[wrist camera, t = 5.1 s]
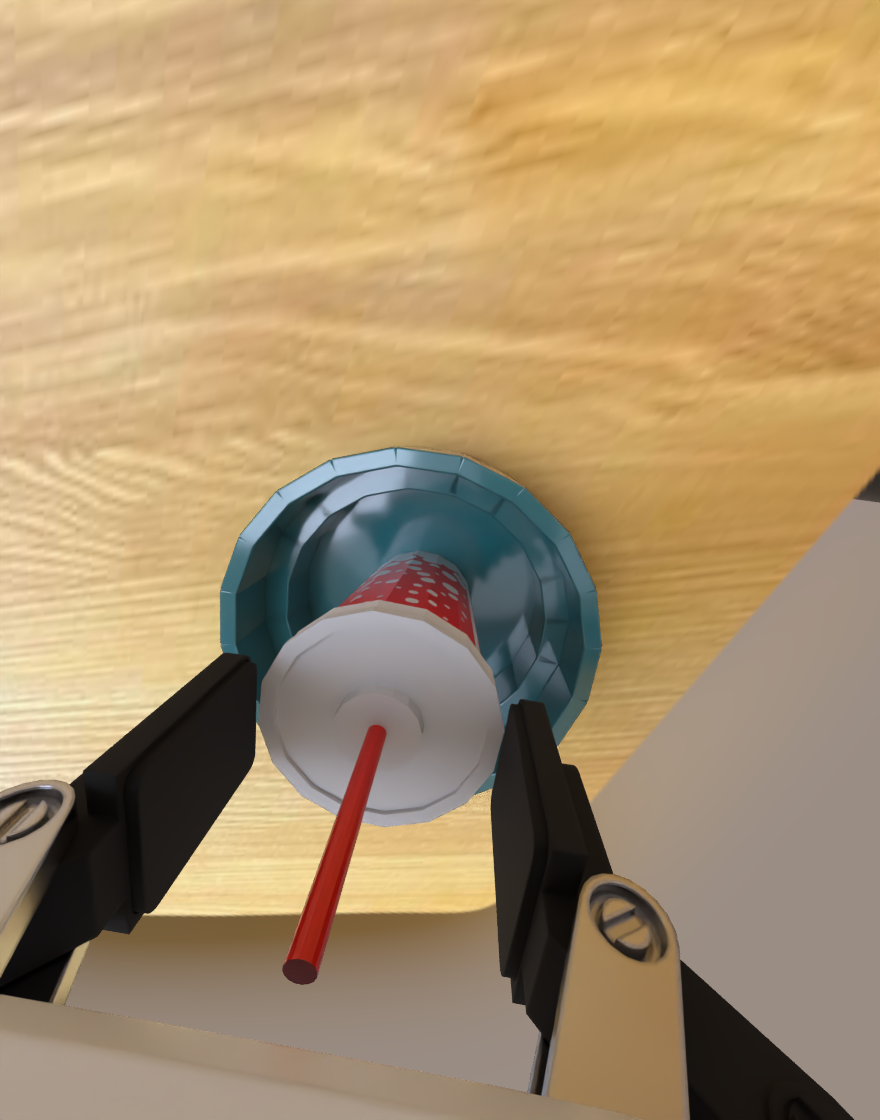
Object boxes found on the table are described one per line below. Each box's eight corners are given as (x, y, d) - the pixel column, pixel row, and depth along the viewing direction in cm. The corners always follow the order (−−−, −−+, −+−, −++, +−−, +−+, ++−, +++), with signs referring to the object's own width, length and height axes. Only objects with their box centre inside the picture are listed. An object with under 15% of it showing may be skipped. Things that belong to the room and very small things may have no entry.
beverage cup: (329, 564, 19) (-19, 856, 5) (456, 511, 18) (417, 708, 4) (387, 678, 20) (222, 1144, 7) (508, 635, 19) (600, 1081, 6)
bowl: (597, 472, 18) (646, 481, 13) (535, 740, 21) (555, 828, 16) (286, 428, 18) (218, 421, 13) (275, 698, 21) (220, 772, 17)
